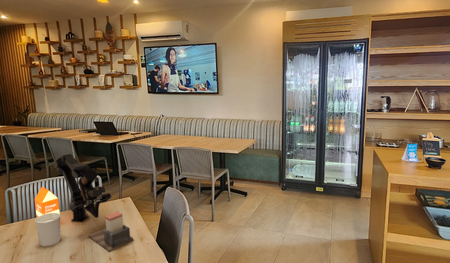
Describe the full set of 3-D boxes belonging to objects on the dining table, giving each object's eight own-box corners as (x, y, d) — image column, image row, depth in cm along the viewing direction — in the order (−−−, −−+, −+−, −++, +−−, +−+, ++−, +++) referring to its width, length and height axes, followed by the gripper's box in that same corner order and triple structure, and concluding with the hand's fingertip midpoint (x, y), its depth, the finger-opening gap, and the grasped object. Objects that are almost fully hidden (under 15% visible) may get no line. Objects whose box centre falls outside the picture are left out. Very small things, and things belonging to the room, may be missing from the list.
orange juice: (44, 230, 140) (40, 192, 137) (37, 225, 146) (33, 188, 142) (61, 224, 146) (57, 188, 143) (53, 219, 152) (49, 184, 148)
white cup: (34, 249, 125) (31, 224, 123) (42, 237, 134) (39, 214, 132) (59, 245, 127) (56, 221, 125) (65, 234, 137) (62, 211, 135)
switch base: (88, 237, 134) (87, 223, 133) (112, 227, 143) (111, 214, 142) (109, 252, 122) (108, 237, 121) (133, 240, 131) (132, 226, 130)
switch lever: (107, 240, 129) (105, 216, 127) (119, 235, 133) (117, 211, 131) (111, 243, 126) (109, 218, 124) (123, 238, 131) (122, 213, 129)
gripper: (75, 185, 129) (86, 216, 125) (111, 178, 144) (122, 206, 140) (65, 195, 134) (75, 225, 130) (101, 187, 150) (111, 214, 145)
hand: (97, 217), depth 136 cm, fingers closed
